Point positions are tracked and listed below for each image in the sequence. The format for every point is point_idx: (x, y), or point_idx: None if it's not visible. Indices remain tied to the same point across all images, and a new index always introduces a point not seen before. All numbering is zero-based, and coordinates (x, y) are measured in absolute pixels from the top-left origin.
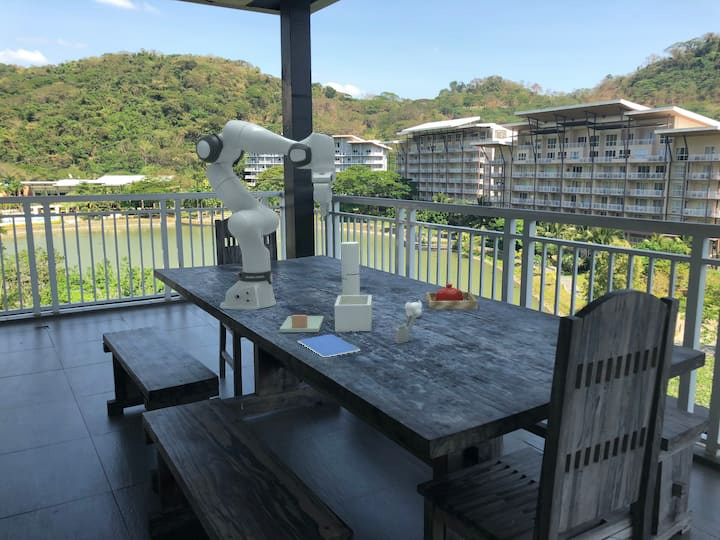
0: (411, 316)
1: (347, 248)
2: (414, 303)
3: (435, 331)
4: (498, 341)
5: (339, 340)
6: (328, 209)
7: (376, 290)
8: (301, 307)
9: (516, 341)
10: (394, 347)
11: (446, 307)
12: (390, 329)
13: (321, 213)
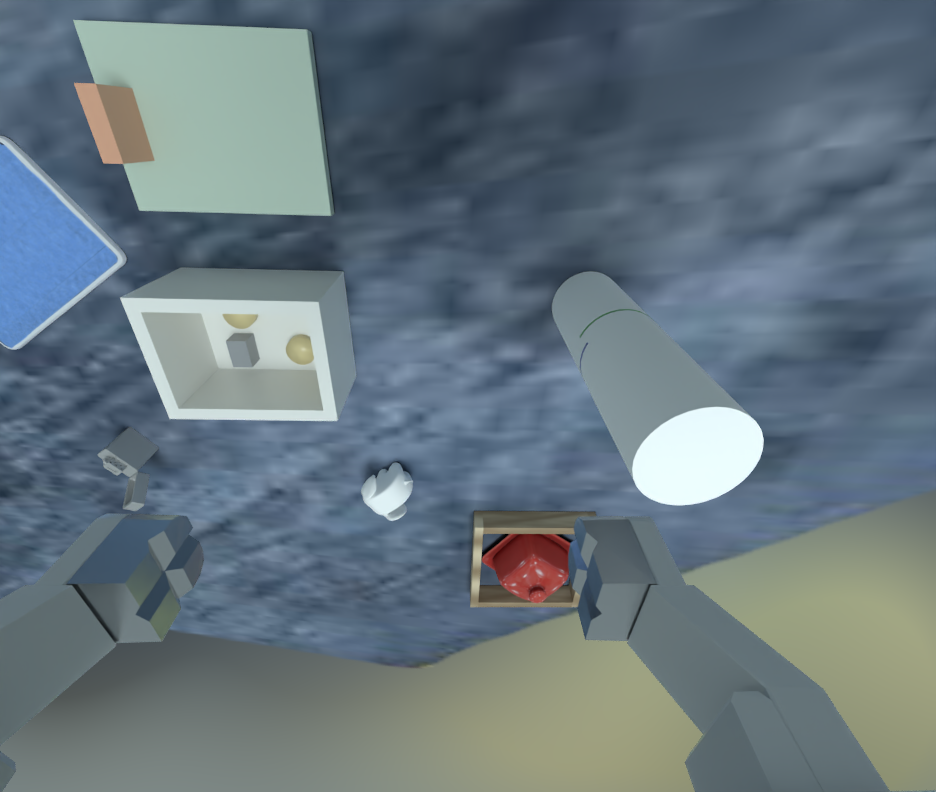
0: (136, 502)
1: (627, 428)
2: (374, 505)
3: (255, 506)
4: (208, 586)
5: (63, 290)
6: (630, 643)
7: (790, 389)
8: (562, 72)
9: (217, 606)
10: (87, 424)
11: (472, 545)
12: (251, 420)
13: (78, 553)
